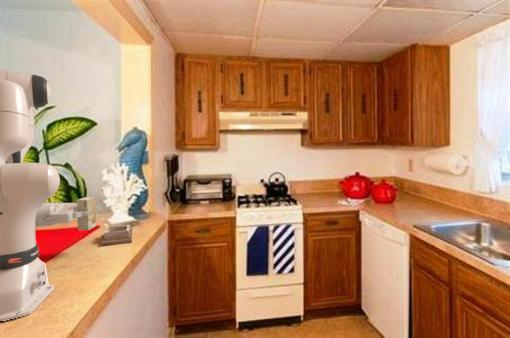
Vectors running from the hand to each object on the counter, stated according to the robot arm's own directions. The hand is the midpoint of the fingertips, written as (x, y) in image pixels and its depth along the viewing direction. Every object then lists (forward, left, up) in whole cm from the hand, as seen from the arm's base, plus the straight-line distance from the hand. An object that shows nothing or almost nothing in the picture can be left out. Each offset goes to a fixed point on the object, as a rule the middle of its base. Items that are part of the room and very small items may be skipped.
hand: (88, 210), depth 126 cm
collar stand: (+14, -9, -17) cm, 24 cm away
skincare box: (0, +1, -7) cm, 7 cm away
